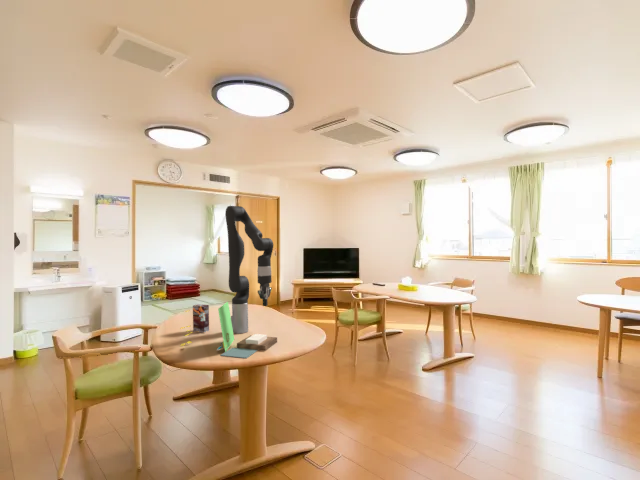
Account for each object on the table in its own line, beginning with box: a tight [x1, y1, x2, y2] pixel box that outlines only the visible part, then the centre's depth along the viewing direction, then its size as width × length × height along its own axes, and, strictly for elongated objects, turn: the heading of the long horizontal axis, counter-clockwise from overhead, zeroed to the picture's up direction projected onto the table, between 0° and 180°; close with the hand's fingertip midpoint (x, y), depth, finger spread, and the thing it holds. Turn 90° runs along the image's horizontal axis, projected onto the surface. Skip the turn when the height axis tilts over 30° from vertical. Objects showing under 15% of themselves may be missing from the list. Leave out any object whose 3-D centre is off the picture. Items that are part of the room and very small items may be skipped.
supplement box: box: [192, 303, 210, 333], centre depth 201 cm, size 9×5×16 cm, turn 68°
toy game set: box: [179, 301, 235, 353], centre depth 172 cm, size 22×25×24 cm
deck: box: [236, 334, 278, 352], centre depth 173 cm, size 16×14×2 cm
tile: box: [246, 333, 268, 344], centre depth 172 cm, size 7×10×2 cm
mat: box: [219, 347, 259, 359], centre depth 161 cm, size 14×11×1 cm
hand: (265, 305), depth 182 cm, fingers closed
